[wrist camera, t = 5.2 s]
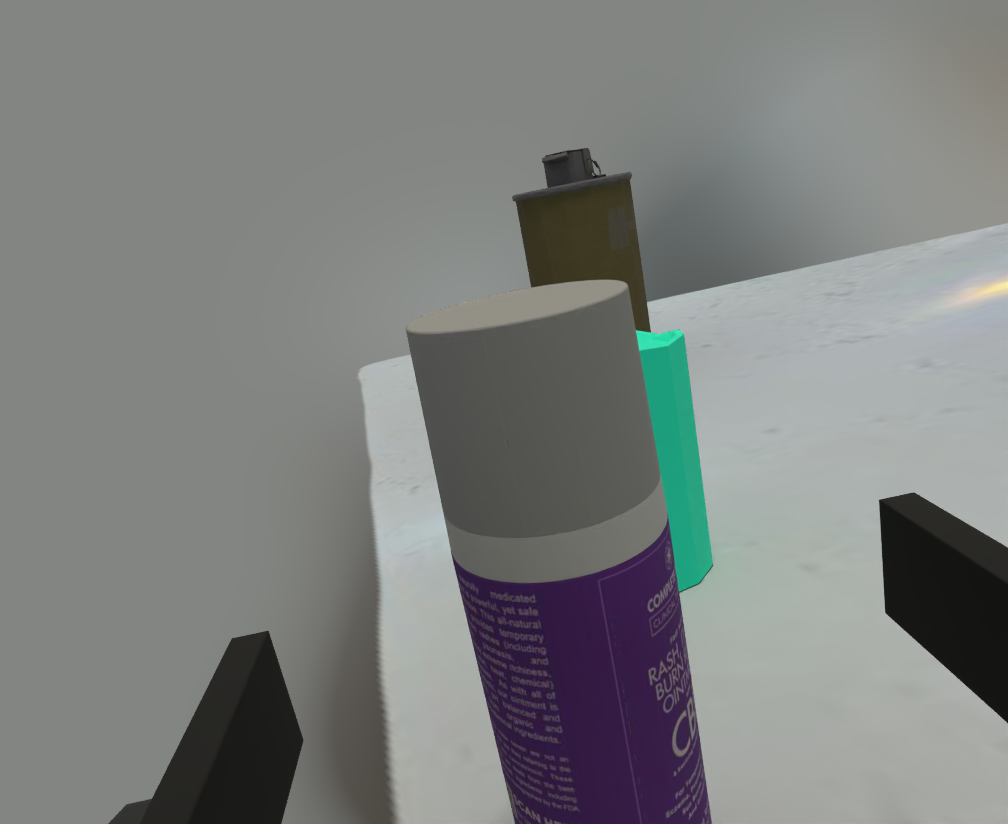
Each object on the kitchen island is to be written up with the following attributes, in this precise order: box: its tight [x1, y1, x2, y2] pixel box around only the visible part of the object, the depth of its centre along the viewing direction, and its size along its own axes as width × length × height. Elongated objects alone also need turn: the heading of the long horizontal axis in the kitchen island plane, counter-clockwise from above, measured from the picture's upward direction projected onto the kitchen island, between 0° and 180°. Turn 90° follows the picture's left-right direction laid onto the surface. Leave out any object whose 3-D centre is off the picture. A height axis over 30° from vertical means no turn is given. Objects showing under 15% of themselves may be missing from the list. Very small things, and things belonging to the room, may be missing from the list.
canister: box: [512, 148, 651, 333], centre depth 65 cm, size 11×10×20 cm
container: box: [406, 280, 712, 824], centre depth 16 cm, size 5×5×15 cm
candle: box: [636, 329, 713, 592], centre depth 32 cm, size 6×6×12 cm
